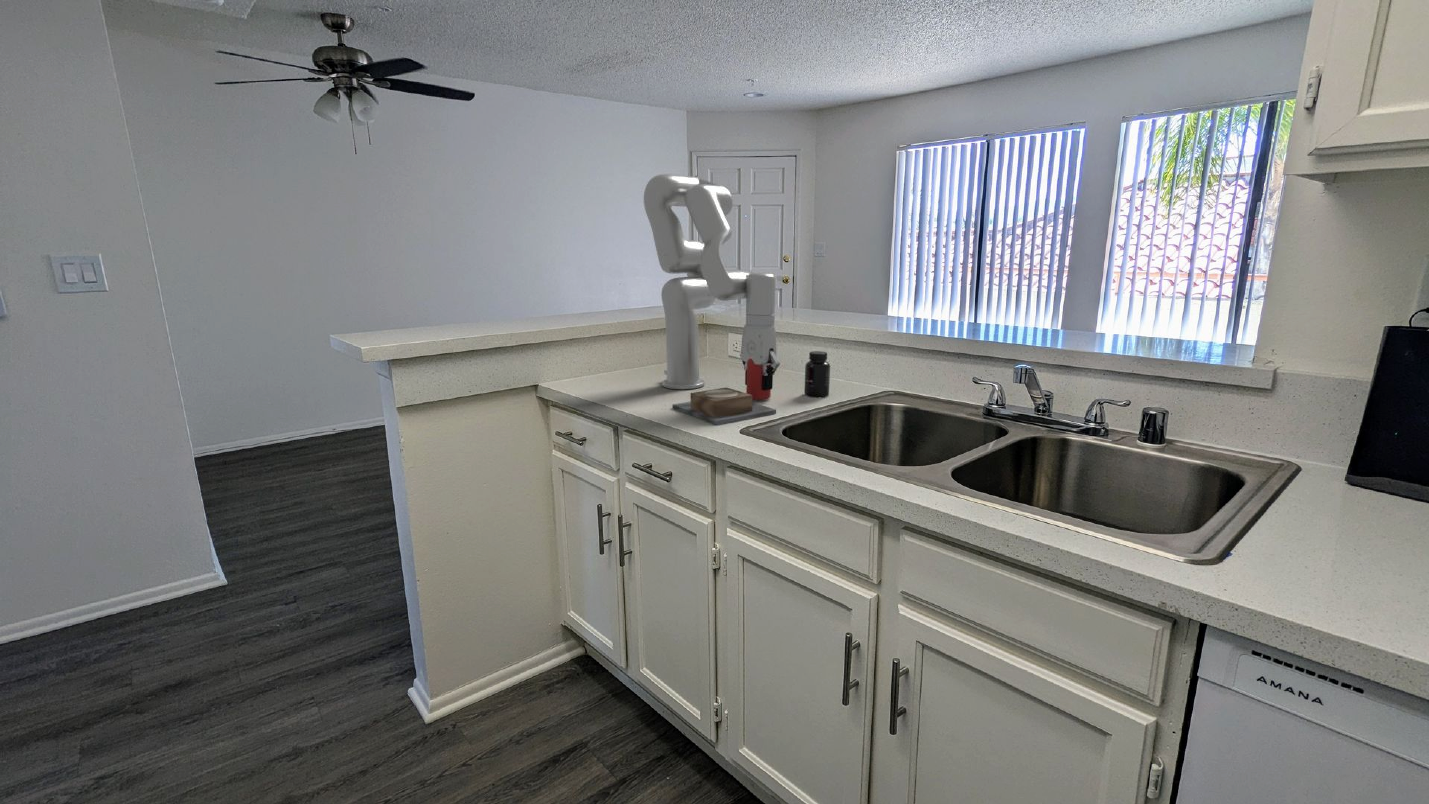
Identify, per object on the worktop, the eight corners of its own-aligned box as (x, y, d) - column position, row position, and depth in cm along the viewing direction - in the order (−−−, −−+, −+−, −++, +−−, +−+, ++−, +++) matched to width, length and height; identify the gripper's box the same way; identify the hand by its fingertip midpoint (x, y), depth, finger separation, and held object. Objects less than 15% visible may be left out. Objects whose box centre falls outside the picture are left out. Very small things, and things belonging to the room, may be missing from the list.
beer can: (768, 401, 178) (770, 357, 175) (744, 400, 179) (745, 356, 176) (771, 395, 184) (773, 352, 181) (748, 394, 185) (748, 351, 182)
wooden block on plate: (672, 408, 173) (671, 388, 171) (729, 398, 183) (729, 379, 181) (716, 425, 157) (716, 403, 155) (776, 413, 166) (776, 393, 165)
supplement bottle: (801, 396, 184) (802, 353, 181) (807, 391, 190) (808, 349, 187) (826, 398, 181) (827, 355, 179) (831, 393, 188) (833, 351, 185)
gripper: (729, 318, 181) (728, 382, 185) (769, 325, 167) (767, 395, 172) (751, 316, 185) (750, 379, 190) (792, 323, 171) (790, 391, 176)
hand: (758, 386), depth 181 cm, fingers closed on beer can, 6 cm apart
